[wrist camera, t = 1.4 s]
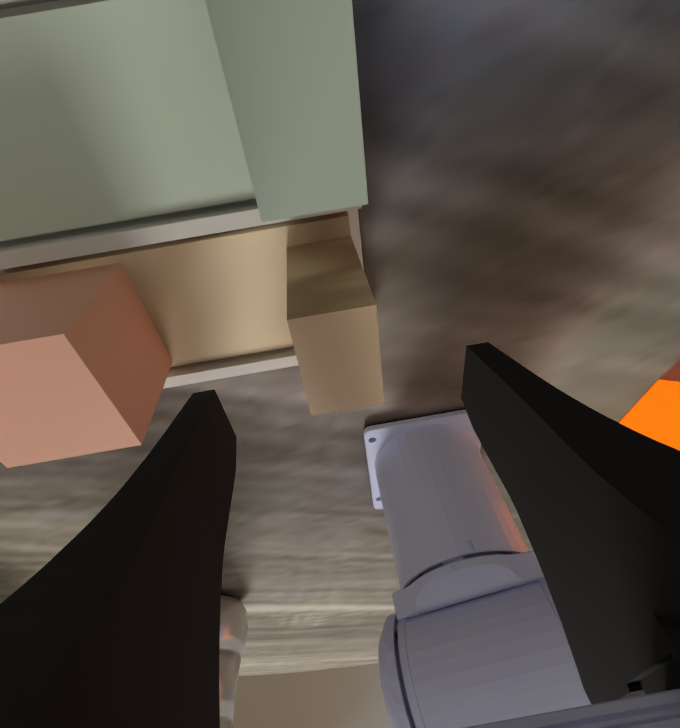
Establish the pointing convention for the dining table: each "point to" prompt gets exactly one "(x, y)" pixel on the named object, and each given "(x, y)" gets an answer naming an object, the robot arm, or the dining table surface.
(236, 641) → the plastic bottle
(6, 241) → the lane board
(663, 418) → the orange juice
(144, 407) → the block
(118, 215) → the strip
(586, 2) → the dining table surface
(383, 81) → the dining table surface
